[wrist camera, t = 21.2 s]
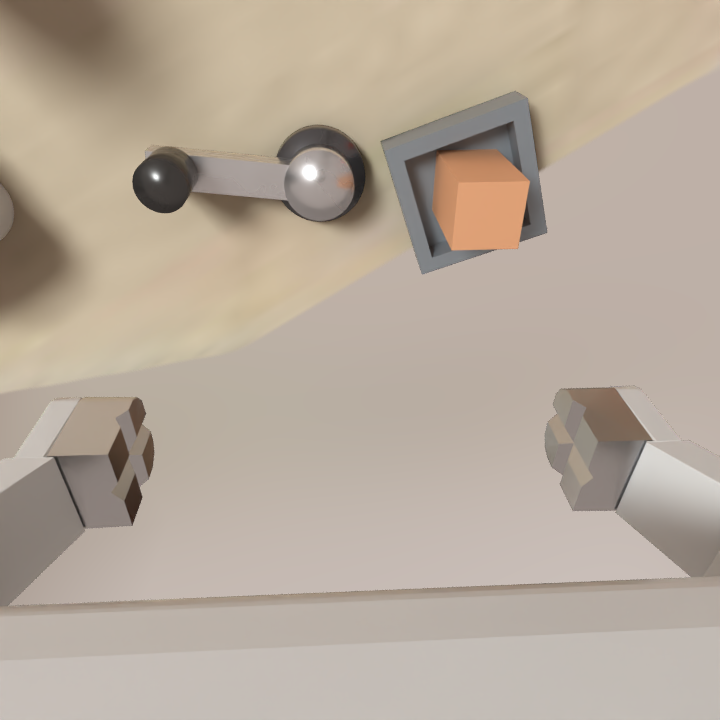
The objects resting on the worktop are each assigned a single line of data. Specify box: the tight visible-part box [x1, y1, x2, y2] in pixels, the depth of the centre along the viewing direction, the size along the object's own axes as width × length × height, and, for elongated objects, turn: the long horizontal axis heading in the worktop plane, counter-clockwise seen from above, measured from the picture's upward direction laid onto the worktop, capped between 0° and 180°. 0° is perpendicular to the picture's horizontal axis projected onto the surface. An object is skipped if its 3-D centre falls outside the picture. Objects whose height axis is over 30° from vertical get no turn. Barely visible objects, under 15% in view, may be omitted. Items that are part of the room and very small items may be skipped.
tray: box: [381, 91, 547, 274], centre depth 36 cm, size 9×9×2 cm
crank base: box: [277, 125, 365, 222], centre depth 36 cm, size 6×6×1 cm
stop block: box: [432, 149, 530, 250], centre depth 34 cm, size 4×4×7 cm
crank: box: [132, 144, 354, 221], centre depth 33 cm, size 13×4×4 cm, turn 84°
